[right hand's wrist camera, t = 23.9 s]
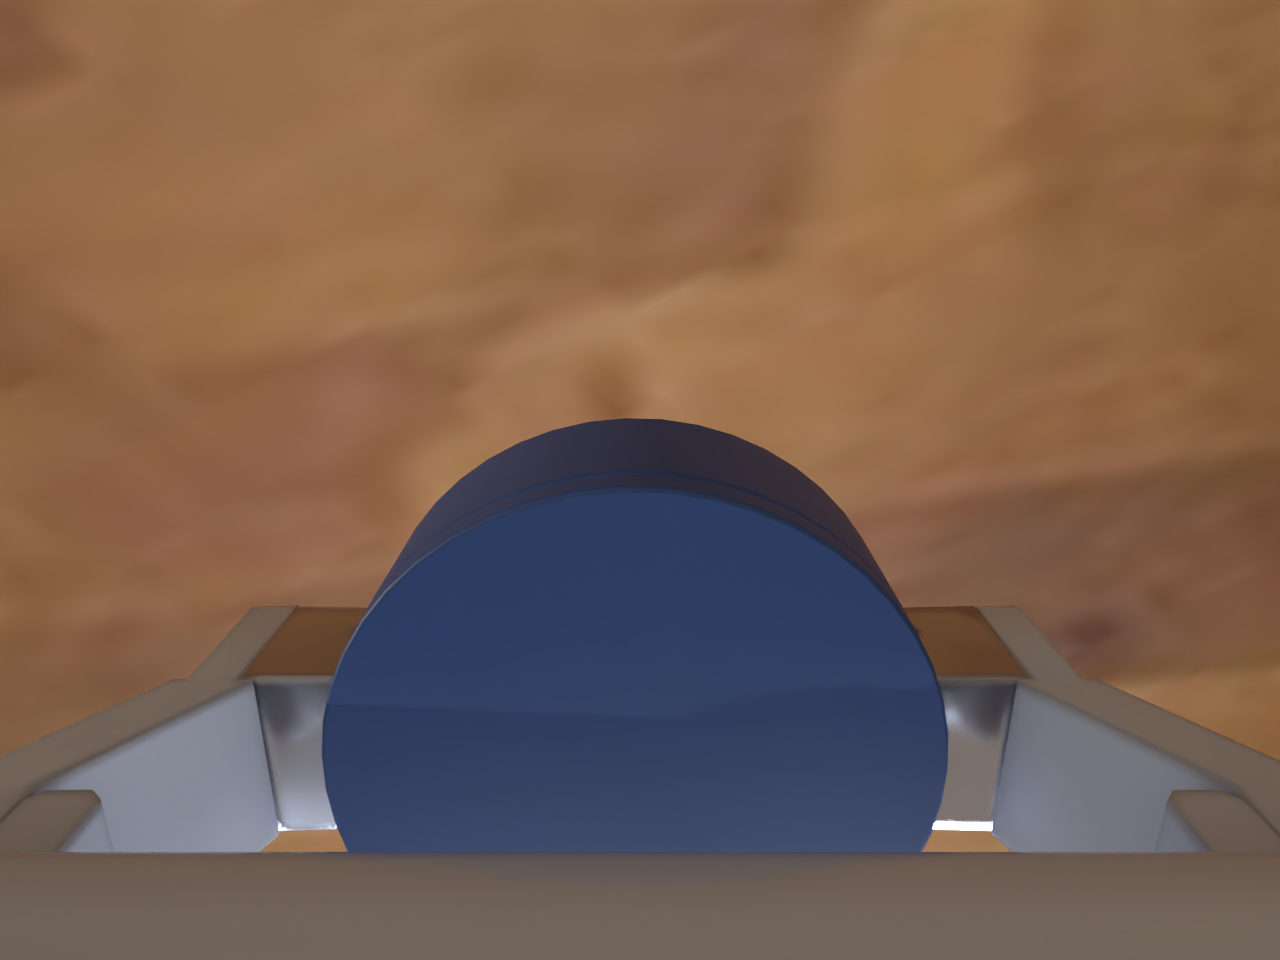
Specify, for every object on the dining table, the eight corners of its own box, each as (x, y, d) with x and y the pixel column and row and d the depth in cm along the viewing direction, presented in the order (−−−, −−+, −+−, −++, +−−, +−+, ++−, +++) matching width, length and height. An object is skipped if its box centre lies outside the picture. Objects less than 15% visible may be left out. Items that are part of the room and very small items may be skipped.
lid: (284, 545, 10) (192, 645, 8) (778, 325, 9) (818, 372, 7) (526, 916, 11) (503, 1073, 9) (954, 760, 11) (1026, 899, 9)
